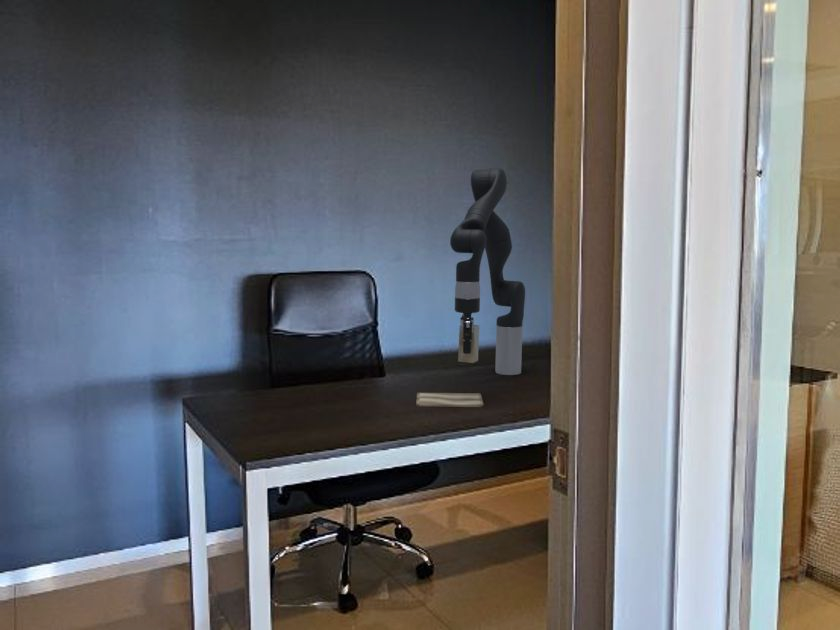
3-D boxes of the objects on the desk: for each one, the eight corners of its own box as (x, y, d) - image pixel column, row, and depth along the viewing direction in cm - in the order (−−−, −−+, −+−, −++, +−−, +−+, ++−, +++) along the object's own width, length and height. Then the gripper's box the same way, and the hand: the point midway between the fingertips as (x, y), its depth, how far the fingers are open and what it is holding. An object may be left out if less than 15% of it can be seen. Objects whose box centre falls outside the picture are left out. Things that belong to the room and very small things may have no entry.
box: (457, 361, 223) (458, 325, 222) (463, 359, 227) (463, 323, 226) (473, 363, 221) (474, 326, 219) (479, 360, 225) (479, 324, 223)
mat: (417, 394, 233) (417, 392, 233) (480, 395, 233) (480, 393, 233) (416, 406, 219) (416, 404, 219) (483, 407, 219) (483, 405, 219)
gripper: (454, 293, 229) (453, 346, 231) (455, 298, 214) (454, 356, 217) (478, 293, 228) (477, 347, 231) (481, 299, 214) (480, 356, 217)
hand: (466, 351), depth 224 cm, fingers closed on box, 5 cm apart
